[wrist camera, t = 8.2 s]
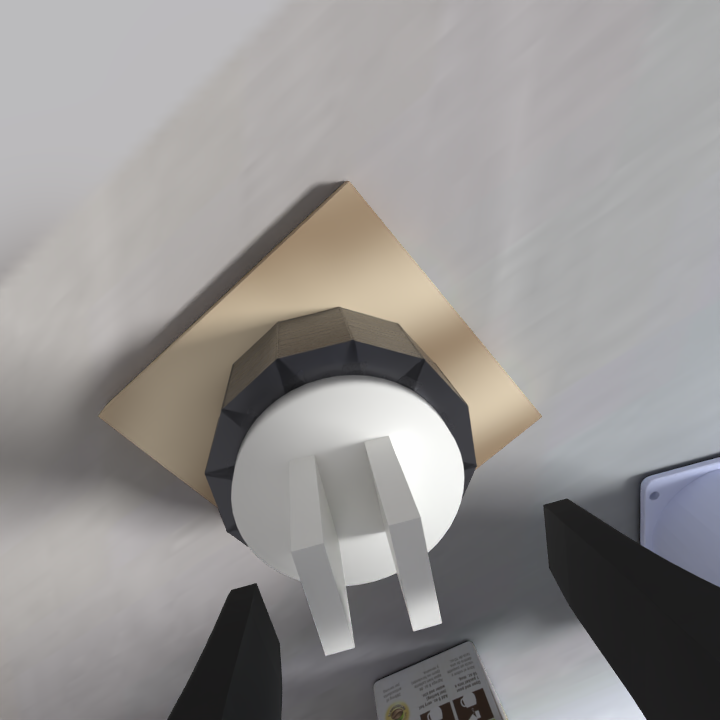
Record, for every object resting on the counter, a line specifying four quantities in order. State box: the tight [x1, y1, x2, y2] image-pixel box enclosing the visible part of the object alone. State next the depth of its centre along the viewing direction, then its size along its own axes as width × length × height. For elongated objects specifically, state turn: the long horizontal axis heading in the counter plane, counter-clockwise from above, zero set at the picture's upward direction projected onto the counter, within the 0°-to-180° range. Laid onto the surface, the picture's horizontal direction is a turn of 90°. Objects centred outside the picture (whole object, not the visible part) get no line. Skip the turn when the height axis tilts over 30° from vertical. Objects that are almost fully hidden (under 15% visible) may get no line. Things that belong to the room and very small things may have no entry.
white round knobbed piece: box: [231, 375, 464, 656], centre depth 16 cm, size 8×8×6 cm
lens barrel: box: [205, 307, 477, 546], centre depth 19 cm, size 9×9×4 cm
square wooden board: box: [98, 181, 542, 508], centre depth 21 cm, size 13×13×1 cm
